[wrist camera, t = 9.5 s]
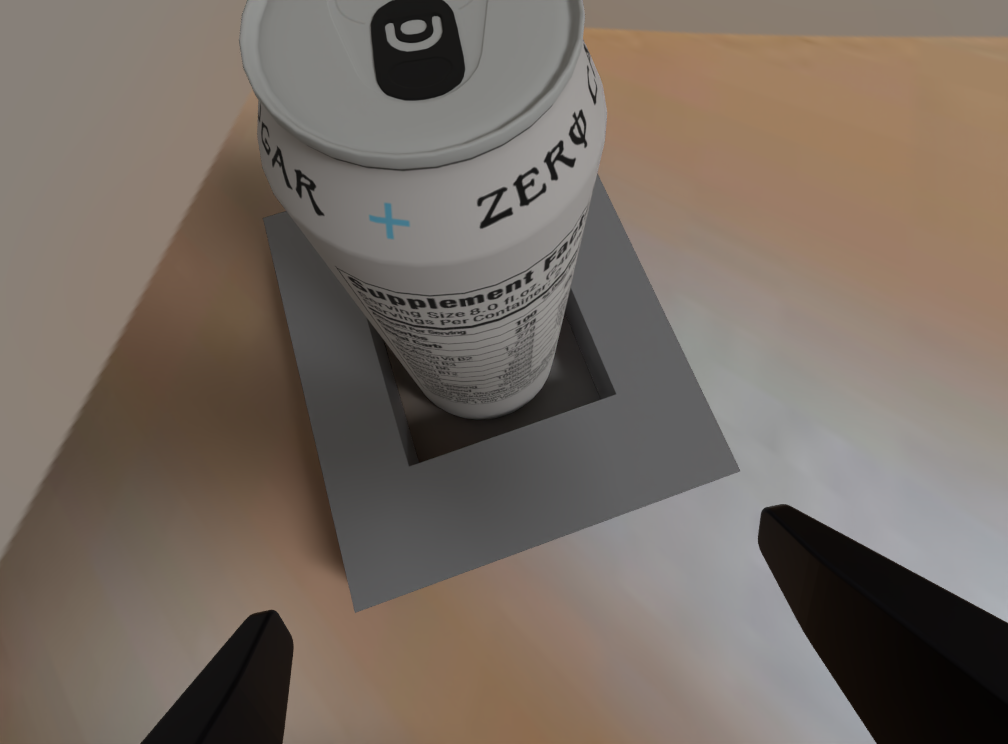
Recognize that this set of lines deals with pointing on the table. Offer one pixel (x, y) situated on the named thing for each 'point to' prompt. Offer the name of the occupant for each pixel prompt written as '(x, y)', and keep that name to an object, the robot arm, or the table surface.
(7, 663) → the table surface
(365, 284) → the energy drink can
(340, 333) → the socket block
